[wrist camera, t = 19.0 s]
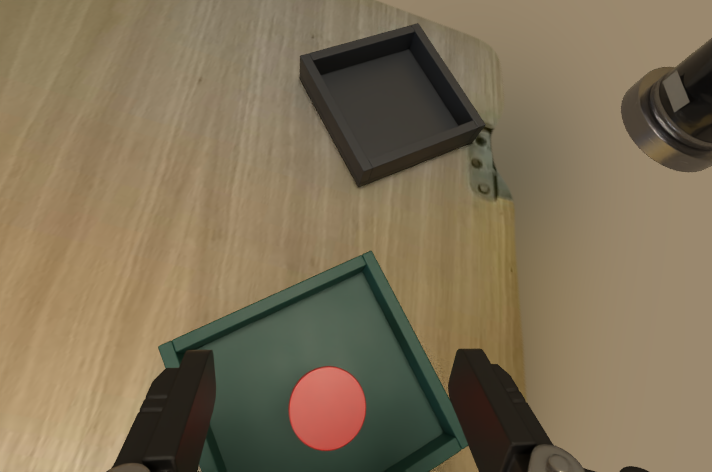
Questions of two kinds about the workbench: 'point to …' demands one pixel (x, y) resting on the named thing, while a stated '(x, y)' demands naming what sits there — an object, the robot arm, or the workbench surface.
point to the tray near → (313, 350)
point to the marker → (327, 408)
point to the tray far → (388, 102)
